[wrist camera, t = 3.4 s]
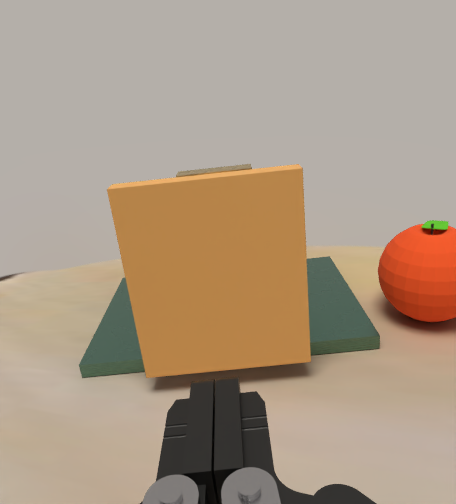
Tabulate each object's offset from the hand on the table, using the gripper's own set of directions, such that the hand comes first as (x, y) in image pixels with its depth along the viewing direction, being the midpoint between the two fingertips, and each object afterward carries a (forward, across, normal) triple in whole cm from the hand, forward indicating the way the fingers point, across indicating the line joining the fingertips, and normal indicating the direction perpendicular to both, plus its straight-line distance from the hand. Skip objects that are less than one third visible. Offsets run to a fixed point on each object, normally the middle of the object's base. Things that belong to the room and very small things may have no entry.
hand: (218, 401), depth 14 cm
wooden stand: (+16, 0, +7) cm, 17 cm away
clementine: (+17, -15, +8) cm, 24 cm away
